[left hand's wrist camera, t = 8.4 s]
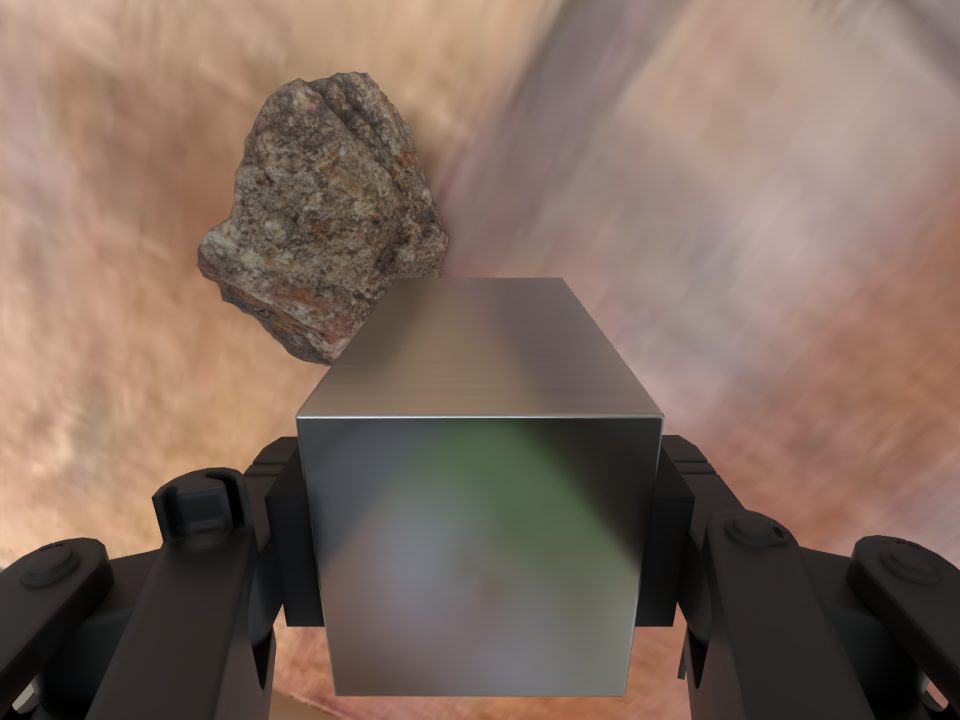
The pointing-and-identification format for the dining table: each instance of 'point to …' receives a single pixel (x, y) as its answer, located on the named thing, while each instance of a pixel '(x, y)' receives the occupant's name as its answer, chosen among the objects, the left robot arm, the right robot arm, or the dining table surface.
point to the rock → (324, 215)
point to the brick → (479, 494)
